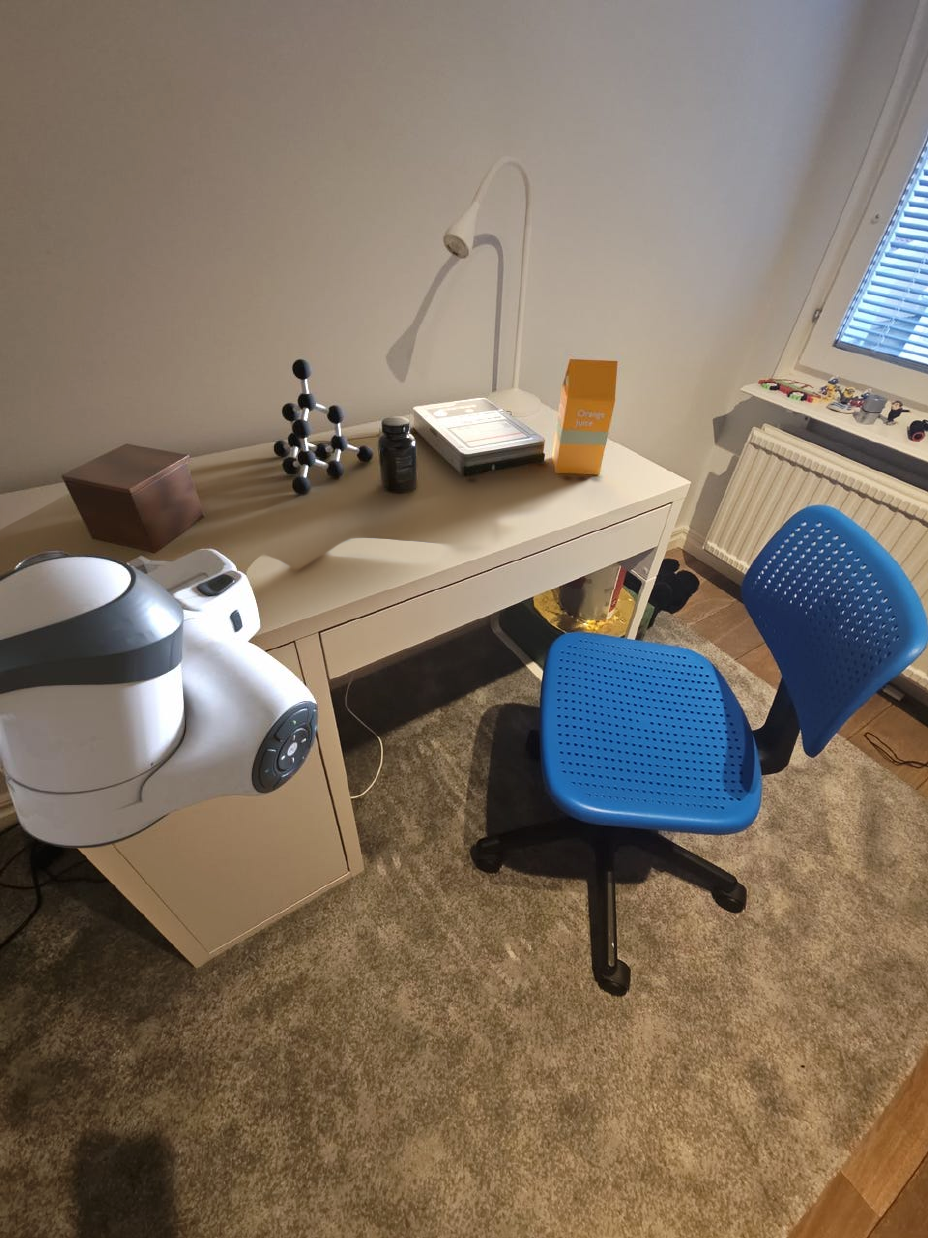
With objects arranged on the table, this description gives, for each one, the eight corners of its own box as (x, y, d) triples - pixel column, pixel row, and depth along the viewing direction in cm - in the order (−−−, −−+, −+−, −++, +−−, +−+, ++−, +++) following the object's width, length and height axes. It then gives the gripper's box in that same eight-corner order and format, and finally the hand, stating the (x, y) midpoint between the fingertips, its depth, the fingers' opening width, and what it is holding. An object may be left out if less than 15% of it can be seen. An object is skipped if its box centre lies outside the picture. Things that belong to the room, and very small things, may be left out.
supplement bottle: (420, 478, 103) (418, 415, 95) (414, 495, 98) (412, 430, 90) (384, 475, 103) (380, 412, 95) (376, 492, 98) (371, 427, 90)
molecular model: (377, 461, 108) (368, 353, 95) (302, 499, 95) (280, 381, 82) (314, 439, 115) (298, 336, 102) (237, 472, 102) (207, 359, 89)
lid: (127, 447, 86) (126, 443, 86) (190, 459, 84) (189, 454, 83) (63, 480, 77) (60, 475, 77) (131, 494, 75) (129, 489, 74)
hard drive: (463, 476, 104) (464, 454, 101) (412, 426, 122) (411, 406, 119) (544, 461, 110) (547, 440, 107) (484, 416, 128) (485, 397, 125)
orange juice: (599, 474, 106) (622, 367, 93) (555, 472, 106) (571, 365, 93) (593, 457, 112) (614, 354, 99) (551, 456, 112) (566, 352, 99)
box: (145, 504, 92) (123, 450, 86) (204, 517, 90) (186, 461, 83) (91, 538, 84) (63, 480, 77) (155, 553, 81) (131, 494, 75)
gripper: (51, 756, 41) (-22, 672, 47) (274, 618, 53) (194, 566, 59) (8, 700, 36) (-66, 617, 43) (260, 566, 49) (175, 516, 55)
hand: (87, 586), depth 51 cm, fingers open, 8 cm apart
